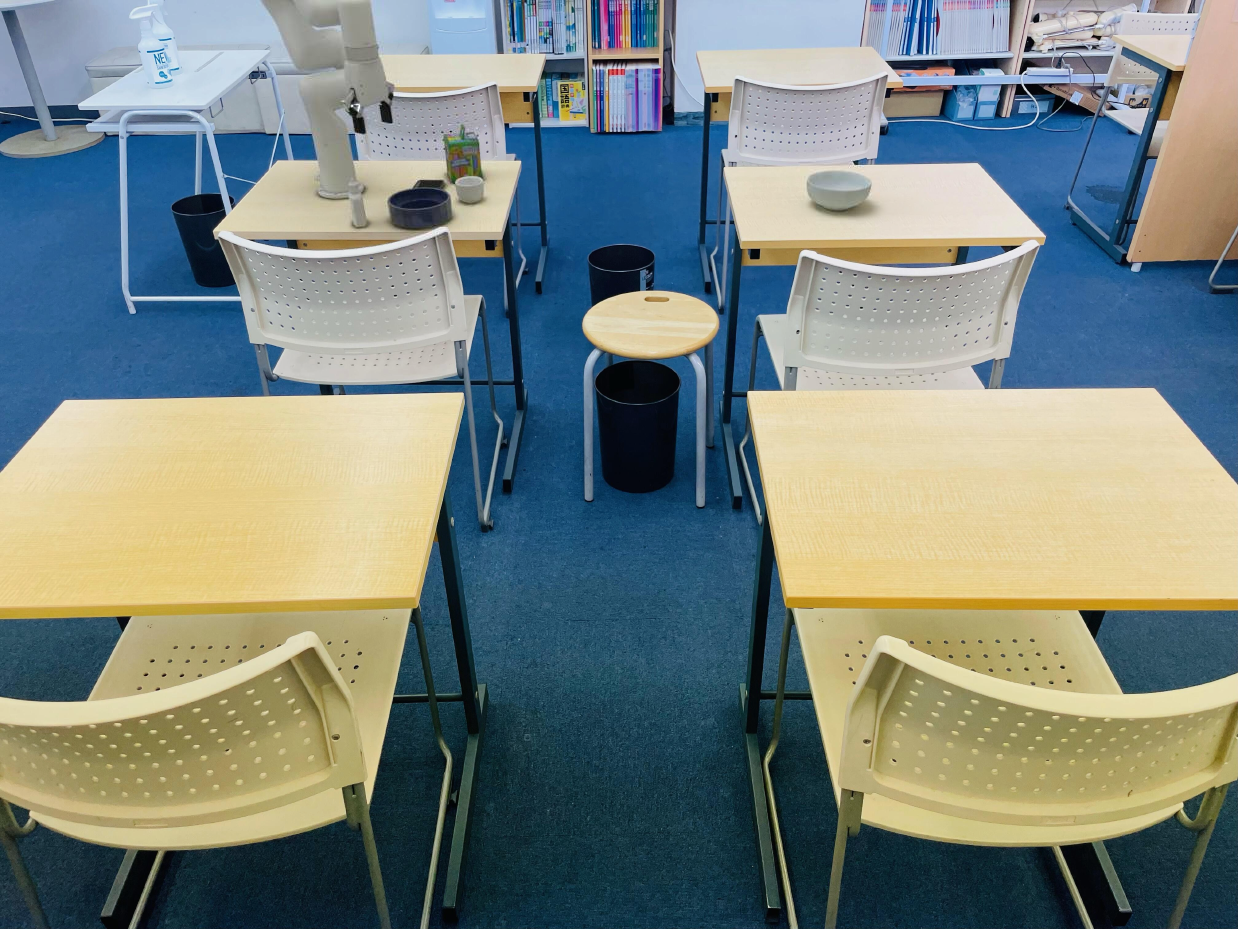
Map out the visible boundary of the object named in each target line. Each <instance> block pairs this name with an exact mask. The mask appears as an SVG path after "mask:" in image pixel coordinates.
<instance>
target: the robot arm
mask: <svg viewBox="0 0 1238 929" xmlns="http://www.w3.org/2000/svg"><path fill="white" fill-rule="evenodd" d="M260 2H261V3H262V5H263V6H264V8H265V9H266V11H267V13H269V15H270V16H271V19H273V21H274V22H275V24H276V26H277V29H278V32H279V34H280V36H281V39H282V41H283V44H284V46H285V49H286V51H287V54H288V55H289V58H290V60H291V62H292V64H293V65H294V67H295V68H296V69H297V70H298V71H301V72H313V73H310V74H307V75H305V76H303V77H302V78H301V79H300V81H299V83H298V93H299V96H300V99H301V103H302V105H303V107H304V110H305V112H306V115H307V119H308V123H309V128H310V132H311V136H312V139H313V140H312V141H313V145H314V152H315V156H316V159H317V160H316V161H317V165H318V170H319V171H317V173H316V175H314V177H313V179H314V180H315V181H316V182H319V183H320V186H319V187H318V188H317V192H318V195H319V196H321V198H325V199H330V200H331V199H332V200H334V199H338V200H339V199H347V198H348V199H349V193H350V191H349V186H348V184H349V183H350V182H351V178H353V179H354V181H355V182H356V183H358V187H359V192H360V193H361V194H362V193H363V191H364V190H365V186H364V184H363V182H361V181H359V180H358V179H357V174H356V168H355V163H354V157H353V156H354V155H353V151H352V147H351V140H350V136H349V130H348V127H347V124H346V123H345V121H344V120H343V119H342V118H341V117H340V116H339V115H337V114H336V111H337V110H340V109H344V110H345V112H346V113H347V114H348V115H349V117H351V119H352V120H351V121H352V125H353V131H354V133H356V134H360V135H366V134H367V129H366V124H365V118H364V116H362V115H363V112H364V109H365V108H368V107H370V106H373V105H376V104H380V105H379V113H380V120H381V122H382V123H385V124H391V125H392V124H393V123H394V120H393V119H394V118H393V114H392V113H393V112H392V106H393V99H394V96H395V95H394V92H395V84H394V83H391V82H389V81H388V80H387V76H386V72H385V68H384V65H383V62H382V59H381V56H380V54H379V48H380V46H379V44H378V42H377V34H376V28H375V22H374V15H373V9H372V3H371V0H260ZM335 26H340V29H338V28H334V27H335ZM316 28H318V29H316ZM333 68H334V69H333ZM329 69H333V70H329ZM321 70H325V71H321ZM314 71H318V72H314Z"/></svg>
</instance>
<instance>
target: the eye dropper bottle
mask: <svg viewBox="0 0 1238 929" xmlns="http://www.w3.org/2000/svg"><path fill="white" fill-rule="evenodd" d="M348 186H349V191H350V193H349V197H348V202H349V206H350V211H351V217H352V221H353V225H354V227H356V228H365V227H366V226H367V225H368V219H367V213H366V208H365V203H364V198H363V194H362V192H361V193H360V192H359V187H358V183H356V182H355V181H354V179H353V178H351V182H350V183H349V184H348Z"/></svg>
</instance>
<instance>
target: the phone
mask: <svg viewBox="0 0 1238 929" xmlns="http://www.w3.org/2000/svg"><path fill="white" fill-rule="evenodd" d="M445 186H446V184H445V180H443V179H419V180H417V181H416V182H415V184H414V185H413V187H412V188H424V187H428V188H437V189H442V190H444V189H443V188H444V187H445Z"/></svg>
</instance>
